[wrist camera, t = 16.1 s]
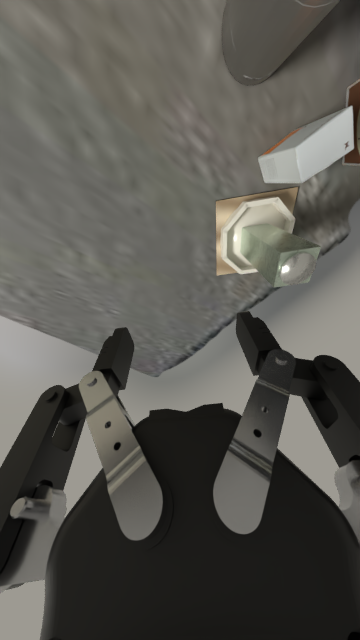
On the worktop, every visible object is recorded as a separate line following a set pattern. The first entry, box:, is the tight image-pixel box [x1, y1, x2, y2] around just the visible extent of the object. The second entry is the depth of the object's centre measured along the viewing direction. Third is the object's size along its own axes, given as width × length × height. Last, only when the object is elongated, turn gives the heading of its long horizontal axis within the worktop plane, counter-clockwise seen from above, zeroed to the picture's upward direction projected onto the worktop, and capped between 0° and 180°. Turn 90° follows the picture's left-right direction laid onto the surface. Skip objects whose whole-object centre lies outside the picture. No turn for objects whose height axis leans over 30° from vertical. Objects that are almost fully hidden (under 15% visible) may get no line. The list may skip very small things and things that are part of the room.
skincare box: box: [258, 106, 354, 183], centre depth 25 cm, size 6×4×12 cm
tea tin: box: [240, 223, 321, 287], centre depth 30 cm, size 5×5×17 cm
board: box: [216, 187, 298, 275], centre depth 37 cm, size 15×15×1 cm
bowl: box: [220, 196, 295, 274], centre depth 36 cm, size 14×14×3 cm
